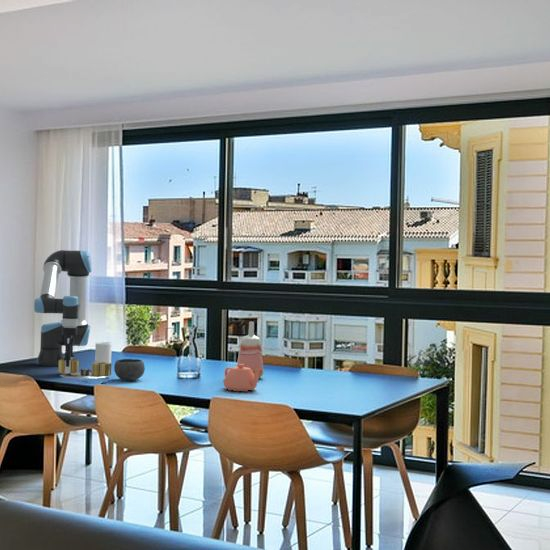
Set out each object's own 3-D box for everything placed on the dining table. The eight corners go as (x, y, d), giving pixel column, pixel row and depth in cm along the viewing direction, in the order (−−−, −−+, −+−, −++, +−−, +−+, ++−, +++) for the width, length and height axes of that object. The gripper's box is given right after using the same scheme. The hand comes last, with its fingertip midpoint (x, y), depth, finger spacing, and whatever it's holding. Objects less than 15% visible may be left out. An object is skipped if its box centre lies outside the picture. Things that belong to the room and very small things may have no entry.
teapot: (270, 391, 373) (271, 365, 373) (251, 395, 360) (252, 368, 360) (232, 385, 385) (233, 360, 385) (213, 389, 372) (214, 363, 372)
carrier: (62, 374, 403) (62, 362, 403) (110, 374, 407) (110, 363, 407) (57, 381, 380) (57, 369, 380) (108, 381, 384) (108, 369, 384)
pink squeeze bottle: (246, 375, 423) (248, 320, 422) (268, 378, 414) (270, 322, 414) (230, 378, 411) (232, 321, 410) (252, 381, 402) (254, 323, 402)
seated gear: (90, 374, 398) (90, 362, 397) (109, 373, 401) (109, 361, 401) (92, 376, 389) (93, 364, 388) (112, 376, 392) (112, 364, 392)
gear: (59, 370, 396) (59, 358, 396) (79, 370, 398) (79, 359, 398) (57, 373, 387) (57, 361, 387) (77, 373, 388) (77, 361, 388)
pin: (66, 374, 393) (66, 365, 393) (70, 374, 393) (71, 365, 393) (65, 375, 391) (66, 366, 391) (70, 375, 391) (70, 366, 391)
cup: (106, 374, 407) (107, 344, 407) (92, 373, 408) (93, 343, 408) (113, 372, 415) (114, 342, 415) (98, 371, 416) (99, 341, 416)
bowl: (144, 382, 385) (145, 362, 385) (113, 382, 383) (113, 361, 383) (144, 378, 400) (144, 358, 400) (114, 377, 397) (115, 358, 397)
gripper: (64, 324, 402) (62, 368, 402) (59, 328, 380) (58, 374, 381) (79, 325, 403) (77, 368, 404) (75, 329, 381) (74, 375, 382)
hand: (68, 371), depth 392 cm, fingers closed on gear, 10 cm apart
